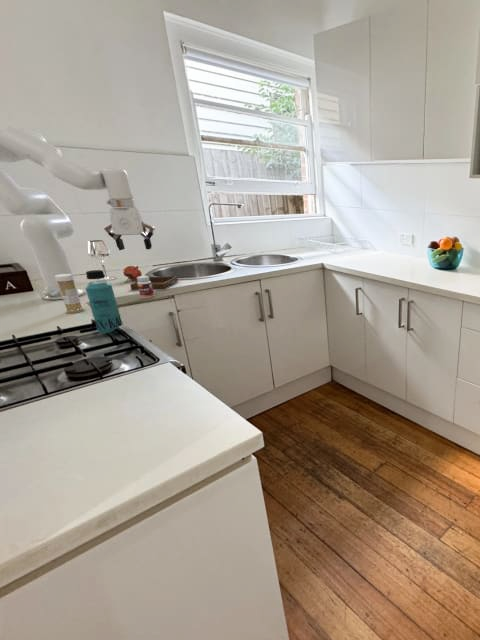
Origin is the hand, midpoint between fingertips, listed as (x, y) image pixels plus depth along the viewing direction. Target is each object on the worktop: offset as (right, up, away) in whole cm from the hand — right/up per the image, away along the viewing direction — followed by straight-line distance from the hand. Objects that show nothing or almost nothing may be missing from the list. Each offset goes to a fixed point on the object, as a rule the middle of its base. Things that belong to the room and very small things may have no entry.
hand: (135, 249), depth 152 cm
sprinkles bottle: (-11, -26, -14) cm, 32 cm away
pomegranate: (-23, -8, +30) cm, 39 cm away
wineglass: (-38, -7, +32) cm, 50 cm away
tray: (-7, -11, +22) cm, 26 cm away
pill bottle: (+1, -19, +5) cm, 19 cm away
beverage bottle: (+18, -35, -34) cm, 52 cm away
